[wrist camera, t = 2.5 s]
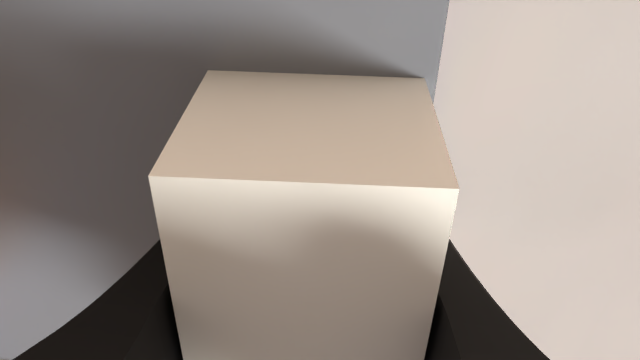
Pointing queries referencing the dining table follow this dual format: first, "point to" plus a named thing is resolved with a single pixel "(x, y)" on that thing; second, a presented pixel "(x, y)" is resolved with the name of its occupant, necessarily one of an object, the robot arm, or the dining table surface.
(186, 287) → the cream brick
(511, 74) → the dining table surface
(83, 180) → the baseplate
